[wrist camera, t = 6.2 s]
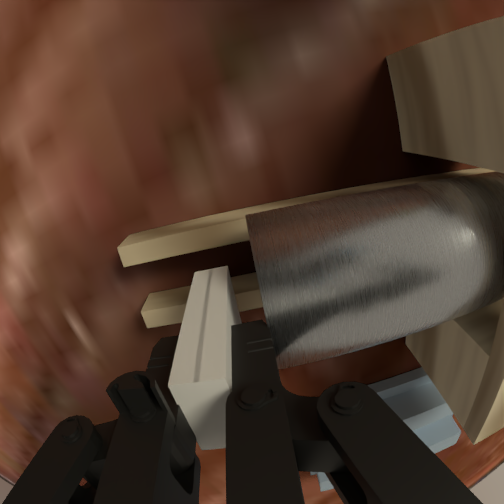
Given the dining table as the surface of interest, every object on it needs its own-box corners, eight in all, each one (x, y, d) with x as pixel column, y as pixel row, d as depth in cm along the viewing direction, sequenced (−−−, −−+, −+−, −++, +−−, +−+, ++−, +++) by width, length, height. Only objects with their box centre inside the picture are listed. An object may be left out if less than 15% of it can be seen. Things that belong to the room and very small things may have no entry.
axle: (268, 317, 16) (284, 402, 11) (243, 201, 14) (249, 244, 8) (531, 243, 16) (590, 276, 10) (534, 157, 14) (602, 174, 8)
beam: (189, 391, 20) (177, 517, 11) (97, 110, 14) (-37, 102, 5) (553, 279, 20) (619, 328, 11) (557, 79, 13) (643, 88, 4)
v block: (309, 467, 25) (315, 496, 21) (298, 403, 21) (307, 440, 18) (443, 422, 24) (457, 446, 21) (464, 349, 21) (486, 375, 17)
